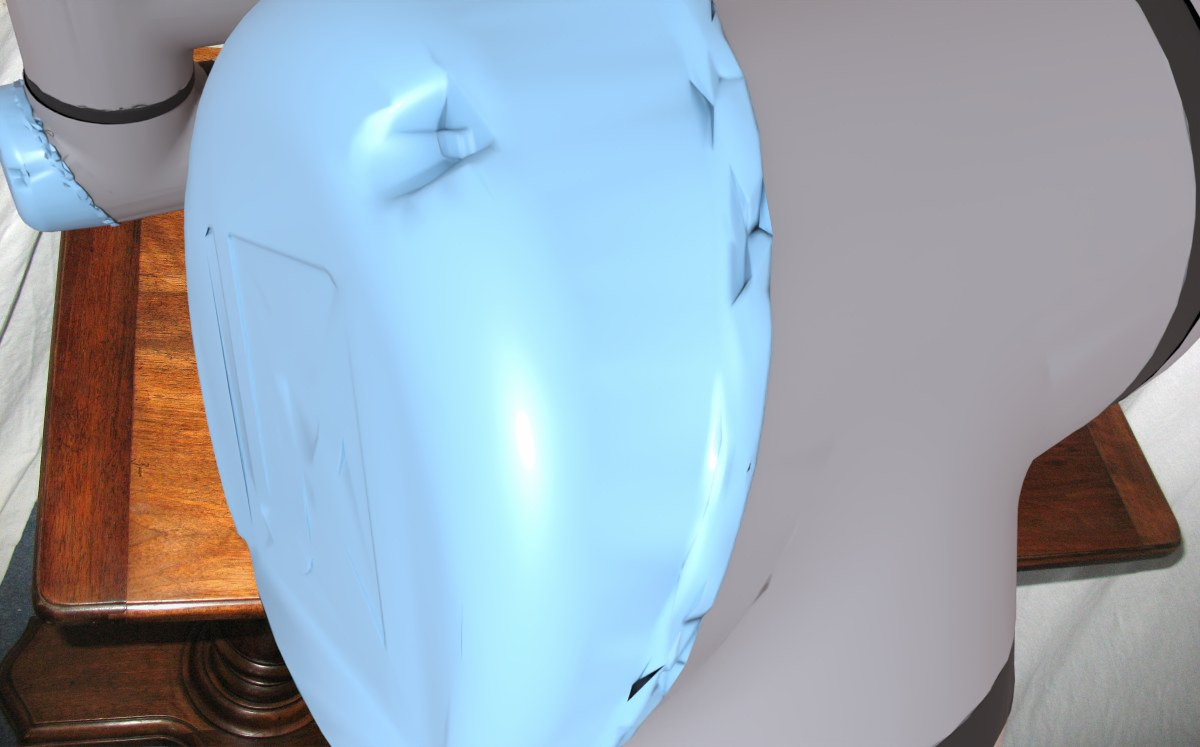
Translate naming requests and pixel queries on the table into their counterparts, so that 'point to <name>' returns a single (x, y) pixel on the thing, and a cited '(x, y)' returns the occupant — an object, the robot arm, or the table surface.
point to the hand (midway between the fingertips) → (611, 69)
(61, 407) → the table surface
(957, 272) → the robot arm
